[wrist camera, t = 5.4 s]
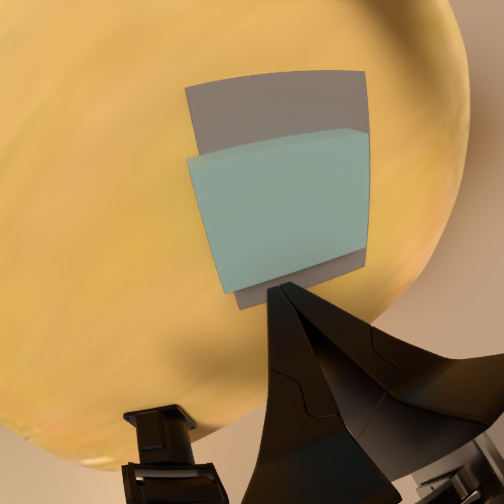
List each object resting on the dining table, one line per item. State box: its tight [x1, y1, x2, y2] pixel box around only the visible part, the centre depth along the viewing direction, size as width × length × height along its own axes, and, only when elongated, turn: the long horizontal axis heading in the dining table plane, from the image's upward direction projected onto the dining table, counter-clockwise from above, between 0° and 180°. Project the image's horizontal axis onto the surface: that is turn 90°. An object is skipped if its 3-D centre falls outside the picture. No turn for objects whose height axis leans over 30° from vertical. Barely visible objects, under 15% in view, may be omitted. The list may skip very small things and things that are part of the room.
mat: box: [185, 70, 370, 310], centre depth 15 cm, size 14×10×1 cm
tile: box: [186, 128, 369, 294], centre depth 14 cm, size 7×2×9 cm
